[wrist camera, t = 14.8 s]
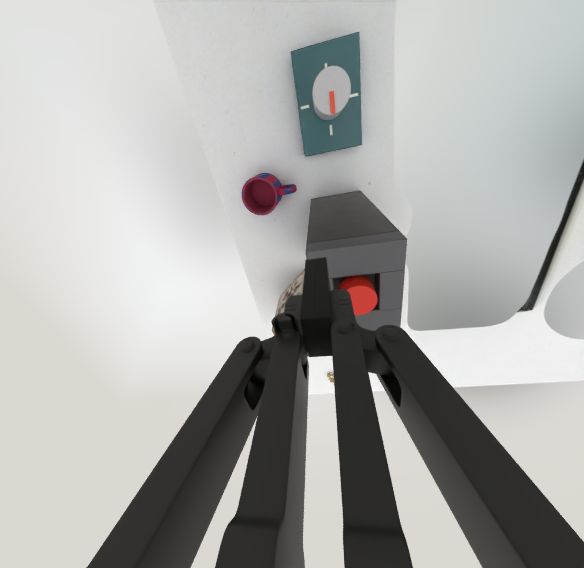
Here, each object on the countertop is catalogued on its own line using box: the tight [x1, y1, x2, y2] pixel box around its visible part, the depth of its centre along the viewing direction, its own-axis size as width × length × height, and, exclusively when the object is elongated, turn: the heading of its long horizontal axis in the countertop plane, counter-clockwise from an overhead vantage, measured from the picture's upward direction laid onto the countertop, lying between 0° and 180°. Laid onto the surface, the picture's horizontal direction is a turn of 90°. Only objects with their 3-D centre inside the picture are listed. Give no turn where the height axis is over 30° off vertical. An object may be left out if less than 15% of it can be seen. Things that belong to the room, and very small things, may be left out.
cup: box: [242, 173, 297, 215], centre depth 44 cm, size 7×10×7 cm
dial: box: [312, 66, 351, 120], centre depth 33 cm, size 5×5×8 cm
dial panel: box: [291, 32, 362, 156], centre depth 38 cm, size 14×10×3 cm
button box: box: [306, 191, 407, 331], centre depth 38 cm, size 12×10×28 cm
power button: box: [338, 275, 377, 315], centre depth 26 cm, size 4×4×2 cm
